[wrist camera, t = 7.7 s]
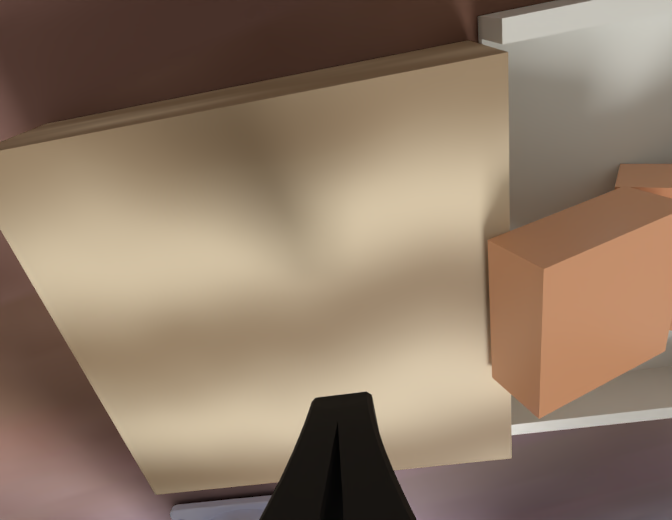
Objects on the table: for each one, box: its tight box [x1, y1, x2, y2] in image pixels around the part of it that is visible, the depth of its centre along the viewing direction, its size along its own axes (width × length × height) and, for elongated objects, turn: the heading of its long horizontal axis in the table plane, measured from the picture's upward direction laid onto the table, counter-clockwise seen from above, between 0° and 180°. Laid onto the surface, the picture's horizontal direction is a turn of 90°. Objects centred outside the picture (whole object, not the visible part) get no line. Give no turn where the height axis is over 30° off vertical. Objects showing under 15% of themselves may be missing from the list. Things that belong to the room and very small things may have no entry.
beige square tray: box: [0, 40, 512, 495], centre depth 16 cm, size 14×14×4 cm
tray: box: [478, 0, 672, 435], centre depth 16 cm, size 15×9×2 cm, turn 11°
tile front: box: [488, 186, 672, 419], centre depth 14 cm, size 5×5×2 cm
